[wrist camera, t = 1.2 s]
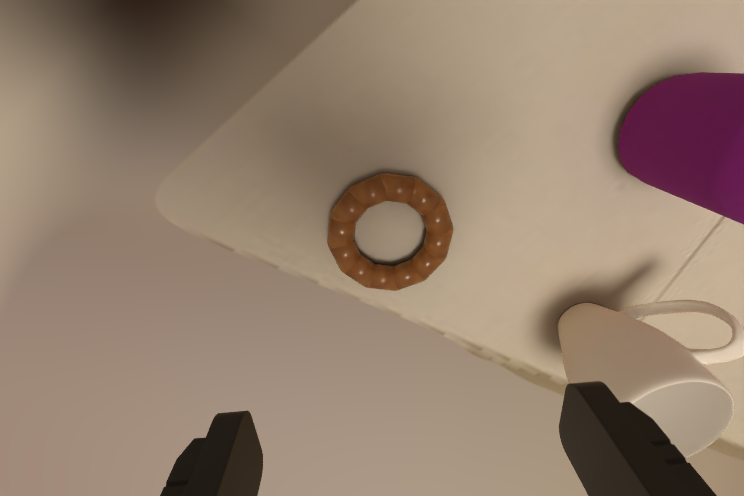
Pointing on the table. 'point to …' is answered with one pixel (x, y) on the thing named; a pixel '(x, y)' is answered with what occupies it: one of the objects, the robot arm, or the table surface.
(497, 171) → the table surface
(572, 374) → the mug
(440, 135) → the table surface
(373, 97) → the table surface
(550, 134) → the table surface
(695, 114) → the beverage can
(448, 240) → the ring
